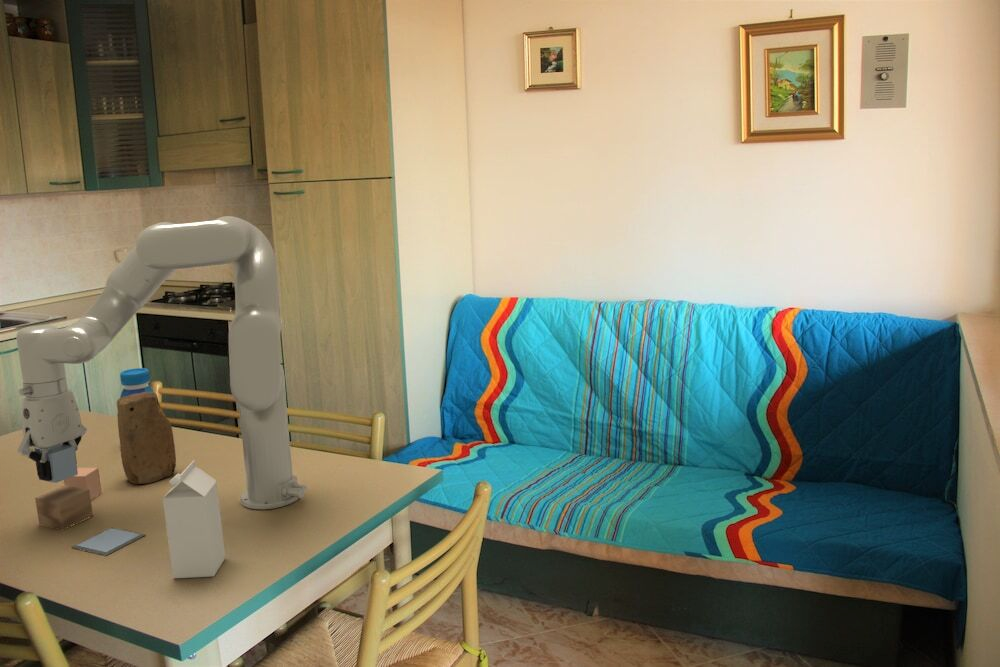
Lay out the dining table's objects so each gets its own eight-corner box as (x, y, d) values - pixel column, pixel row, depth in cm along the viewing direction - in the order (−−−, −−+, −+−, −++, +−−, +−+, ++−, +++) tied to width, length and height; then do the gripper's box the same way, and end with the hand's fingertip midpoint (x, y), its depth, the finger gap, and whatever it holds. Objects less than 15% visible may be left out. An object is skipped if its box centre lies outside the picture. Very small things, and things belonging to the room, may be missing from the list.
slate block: (77, 474, 170) (73, 446, 169) (56, 483, 166) (51, 454, 165) (61, 471, 172) (57, 443, 171) (39, 479, 168) (34, 451, 167)
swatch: (145, 535, 163) (145, 533, 163) (106, 556, 154) (105, 554, 154) (111, 528, 166) (111, 526, 166) (71, 548, 158) (71, 546, 158)
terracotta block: (101, 493, 185) (98, 467, 184) (89, 502, 180) (85, 476, 179) (80, 493, 186) (76, 467, 184) (67, 502, 181) (63, 476, 180)
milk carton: (225, 558, 152) (214, 459, 148) (214, 577, 145) (201, 474, 141) (186, 560, 152) (173, 461, 148) (172, 579, 145) (159, 476, 141)
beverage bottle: (168, 443, 217) (159, 368, 213) (139, 453, 210) (129, 376, 206) (148, 438, 221) (138, 365, 217) (119, 448, 214) (108, 373, 210)
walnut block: (93, 516, 173) (89, 489, 172) (63, 530, 167) (59, 502, 165) (69, 512, 176) (65, 485, 174) (39, 525, 170) (35, 497, 168)
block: (132, 488, 187) (120, 402, 183) (122, 479, 193) (111, 396, 189) (180, 475, 194) (170, 392, 190) (170, 467, 199) (160, 386, 195)
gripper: (18, 401, 156) (32, 492, 160) (95, 379, 171) (106, 463, 175) (-8, 397, 159) (6, 487, 163) (70, 376, 174) (81, 458, 178)
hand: (58, 473), depth 169 cm, fingers closed on slate block, 5 cm apart
